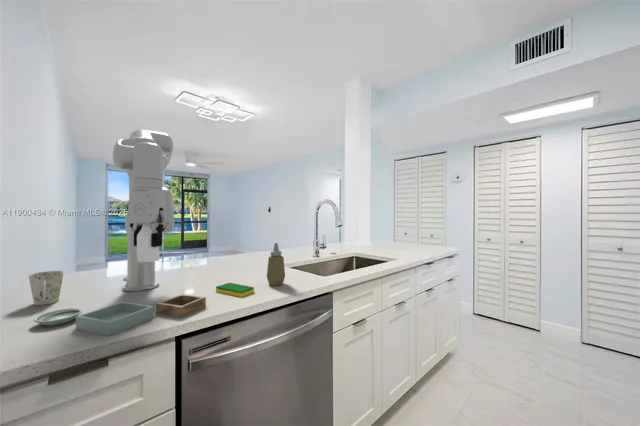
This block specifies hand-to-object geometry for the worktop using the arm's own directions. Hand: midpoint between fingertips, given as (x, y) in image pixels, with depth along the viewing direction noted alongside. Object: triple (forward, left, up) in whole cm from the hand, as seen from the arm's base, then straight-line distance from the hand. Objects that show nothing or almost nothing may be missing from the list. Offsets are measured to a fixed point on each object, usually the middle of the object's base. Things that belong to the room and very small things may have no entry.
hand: (147, 245), depth 80 cm
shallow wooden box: (+5, +8, -21) cm, 23 cm away
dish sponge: (+9, +30, -22) cm, 38 cm away
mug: (-42, -3, -22) cm, 47 cm away
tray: (-4, -6, -21) cm, 23 cm away
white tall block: (0, 0, -5) cm, 5 cm away
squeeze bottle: (+19, +45, -22) cm, 53 cm away
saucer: (-20, -11, -22) cm, 32 cm away
